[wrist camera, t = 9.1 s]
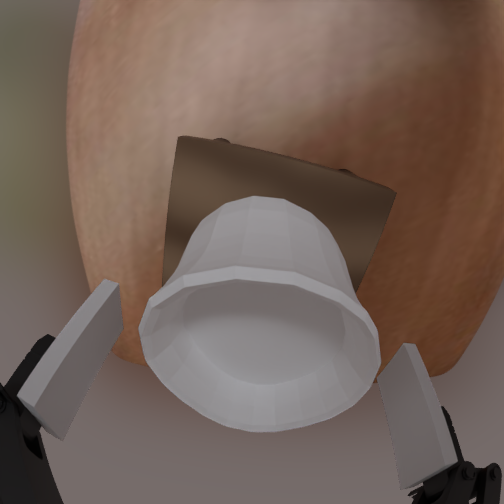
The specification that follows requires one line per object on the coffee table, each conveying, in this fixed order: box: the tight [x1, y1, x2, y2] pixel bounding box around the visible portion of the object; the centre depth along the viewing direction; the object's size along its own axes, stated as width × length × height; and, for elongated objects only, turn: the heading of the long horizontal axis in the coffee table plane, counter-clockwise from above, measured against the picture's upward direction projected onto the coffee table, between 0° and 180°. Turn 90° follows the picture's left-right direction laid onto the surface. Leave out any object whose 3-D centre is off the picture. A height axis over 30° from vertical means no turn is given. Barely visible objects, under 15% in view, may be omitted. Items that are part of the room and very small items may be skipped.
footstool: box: [162, 136, 397, 293], centre depth 22 cm, size 14×14×8 cm
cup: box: [138, 196, 381, 432], centre depth 14 cm, size 10×10×10 cm
